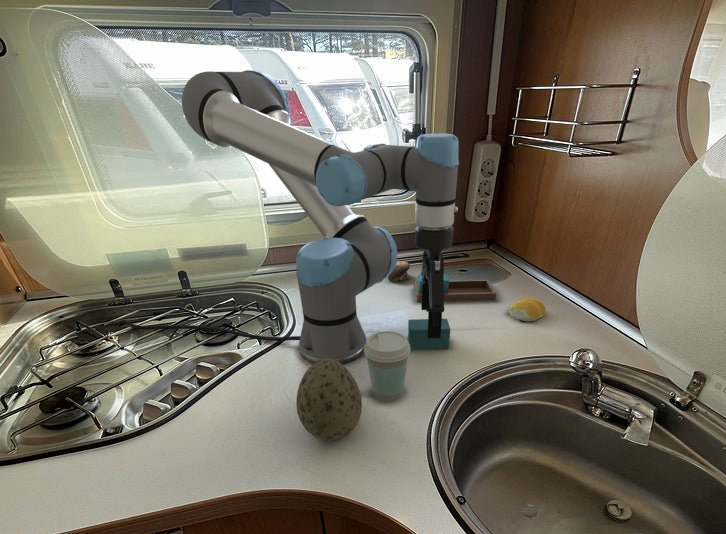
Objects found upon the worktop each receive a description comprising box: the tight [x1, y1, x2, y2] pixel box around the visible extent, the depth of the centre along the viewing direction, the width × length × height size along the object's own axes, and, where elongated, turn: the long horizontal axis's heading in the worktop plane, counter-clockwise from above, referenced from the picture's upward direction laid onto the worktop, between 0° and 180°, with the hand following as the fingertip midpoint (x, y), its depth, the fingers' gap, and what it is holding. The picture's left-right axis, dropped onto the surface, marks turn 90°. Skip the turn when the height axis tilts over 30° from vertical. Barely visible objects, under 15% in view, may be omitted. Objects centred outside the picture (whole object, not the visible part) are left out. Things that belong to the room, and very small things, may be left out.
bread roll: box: [508, 297, 547, 322], centre depth 108 cm, size 8×9×4 cm
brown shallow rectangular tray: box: [413, 279, 497, 303], centre depth 119 cm, size 22×10×2 cm, turn 91°
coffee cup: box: [363, 330, 412, 403], centre depth 79 cm, size 8×8×12 cm
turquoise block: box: [417, 273, 450, 294], centre depth 118 cm, size 8×5×5 cm, turn 91°
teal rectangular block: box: [407, 318, 451, 350], centre depth 97 cm, size 9×5×5 cm, turn 91°
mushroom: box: [387, 260, 411, 283], centre depth 128 cm, size 8×8×6 cm
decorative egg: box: [295, 358, 363, 442], centre depth 70 cm, size 11×11×15 cm
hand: (430, 322), depth 95 cm, fingers open, 13 cm apart
